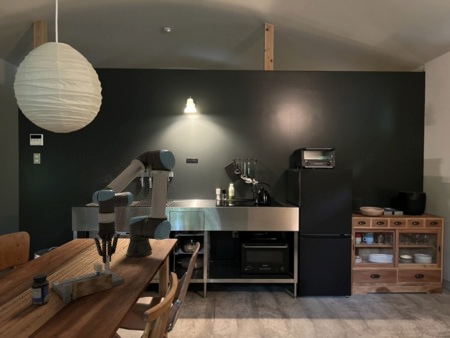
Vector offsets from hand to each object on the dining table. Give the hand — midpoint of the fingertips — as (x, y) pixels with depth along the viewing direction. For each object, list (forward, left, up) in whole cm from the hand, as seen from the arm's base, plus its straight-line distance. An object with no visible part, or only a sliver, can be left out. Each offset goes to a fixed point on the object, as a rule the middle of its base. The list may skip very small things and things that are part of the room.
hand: (106, 268), depth 153 cm
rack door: (+13, +15, -4) cm, 20 cm away
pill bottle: (+31, +9, -4) cm, 33 cm away
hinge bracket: (+23, +15, -4) cm, 28 cm away
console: (+10, +4, -4) cm, 12 cm away
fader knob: (+4, 0, -2) cm, 5 cm away
